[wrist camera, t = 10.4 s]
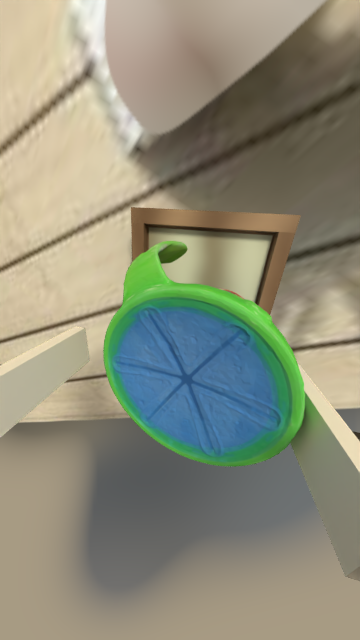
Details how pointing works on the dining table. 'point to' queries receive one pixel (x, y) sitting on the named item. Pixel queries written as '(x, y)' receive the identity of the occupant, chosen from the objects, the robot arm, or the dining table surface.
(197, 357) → the snack cup
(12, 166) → the dining table surface
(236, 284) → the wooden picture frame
